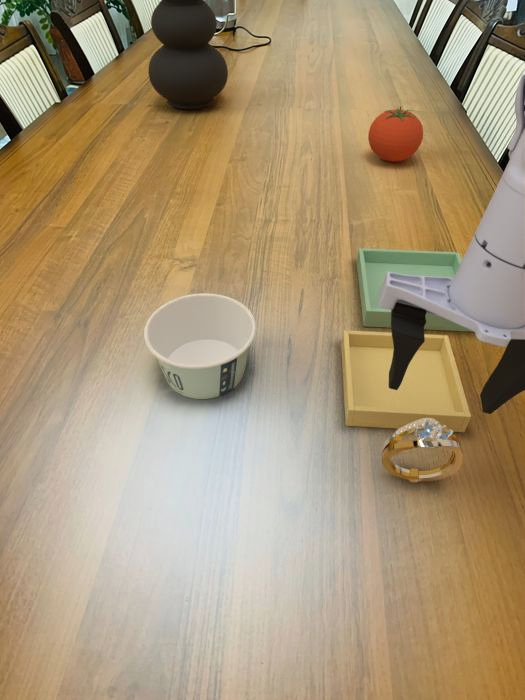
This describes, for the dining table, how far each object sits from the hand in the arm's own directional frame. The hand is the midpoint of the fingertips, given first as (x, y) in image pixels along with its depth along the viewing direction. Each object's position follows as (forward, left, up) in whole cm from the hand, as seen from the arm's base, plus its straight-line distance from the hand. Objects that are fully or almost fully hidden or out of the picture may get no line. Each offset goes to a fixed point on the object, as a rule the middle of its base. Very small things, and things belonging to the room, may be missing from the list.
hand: (438, 392), depth 42 cm
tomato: (-6, -72, -11) cm, 73 cm away
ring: (0, +1, -11) cm, 11 cm away
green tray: (-4, -28, -11) cm, 30 cm away
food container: (+22, -12, -11) cm, 27 cm away
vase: (+39, -101, -11) cm, 109 cm away
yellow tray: (0, -11, -11) cm, 16 cm away
